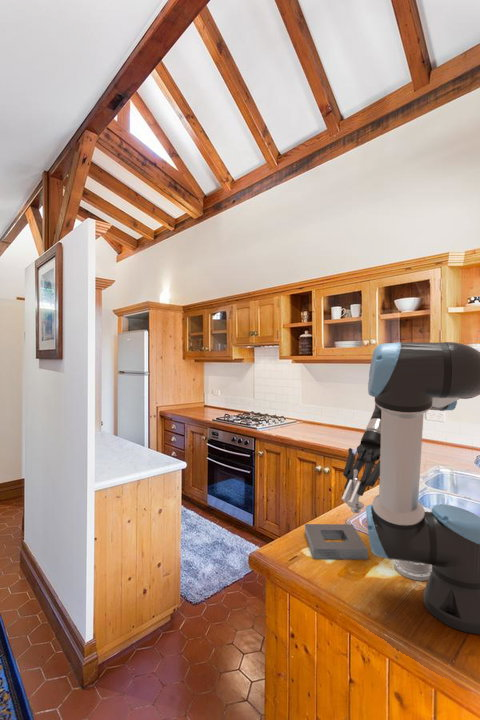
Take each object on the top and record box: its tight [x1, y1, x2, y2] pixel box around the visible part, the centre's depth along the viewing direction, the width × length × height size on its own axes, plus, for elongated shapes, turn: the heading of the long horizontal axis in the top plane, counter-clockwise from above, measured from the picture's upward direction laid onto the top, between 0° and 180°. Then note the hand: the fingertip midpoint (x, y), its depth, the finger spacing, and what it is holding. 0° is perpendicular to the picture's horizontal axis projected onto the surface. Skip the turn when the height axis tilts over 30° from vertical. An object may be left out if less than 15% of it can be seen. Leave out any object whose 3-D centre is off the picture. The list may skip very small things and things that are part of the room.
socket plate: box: [304, 523, 369, 560], centre depth 117 cm, size 16×16×3 cm
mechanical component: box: [393, 560, 432, 582], centre depth 103 cm, size 10×4×10 cm
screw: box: [346, 469, 365, 514], centre depth 110 cm, size 13×5×5 cm
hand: (348, 502), depth 108 cm, fingers closed on screw, 2 cm apart
